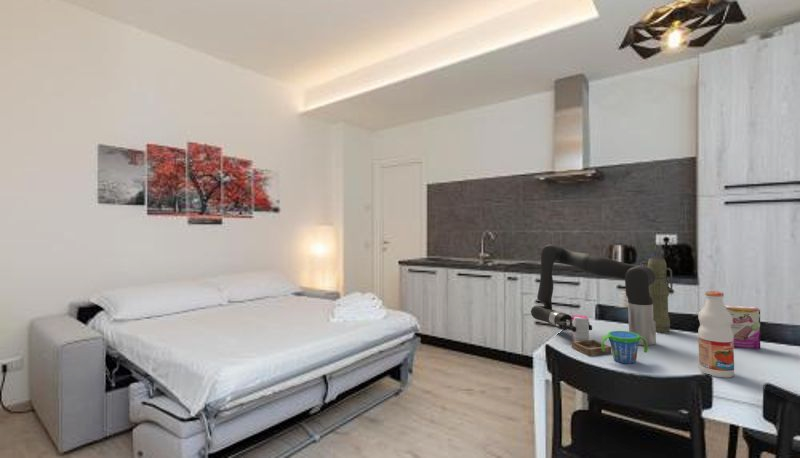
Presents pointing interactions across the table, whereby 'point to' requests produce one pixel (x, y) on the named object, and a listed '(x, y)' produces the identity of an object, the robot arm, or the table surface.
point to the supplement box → (580, 328)
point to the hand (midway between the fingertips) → (583, 328)
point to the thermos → (660, 293)
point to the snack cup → (624, 345)
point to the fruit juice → (715, 337)
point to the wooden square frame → (590, 347)
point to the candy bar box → (745, 326)
